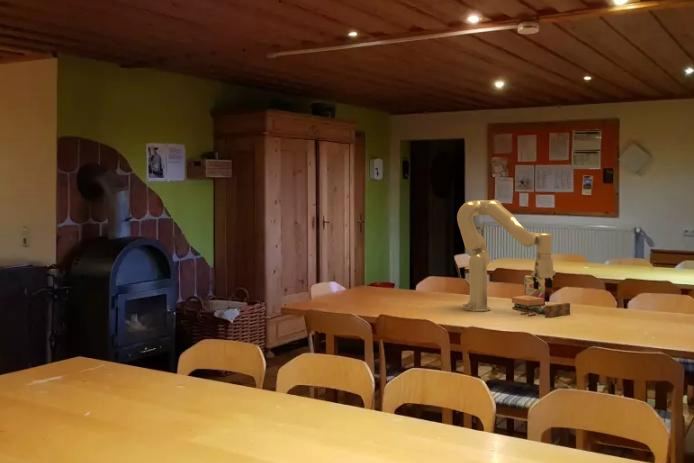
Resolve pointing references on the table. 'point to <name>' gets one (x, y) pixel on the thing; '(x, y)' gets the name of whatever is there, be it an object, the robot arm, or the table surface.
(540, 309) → the roller
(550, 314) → the rail
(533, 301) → the slab
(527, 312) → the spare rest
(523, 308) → the roller track
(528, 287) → the candy bar box
